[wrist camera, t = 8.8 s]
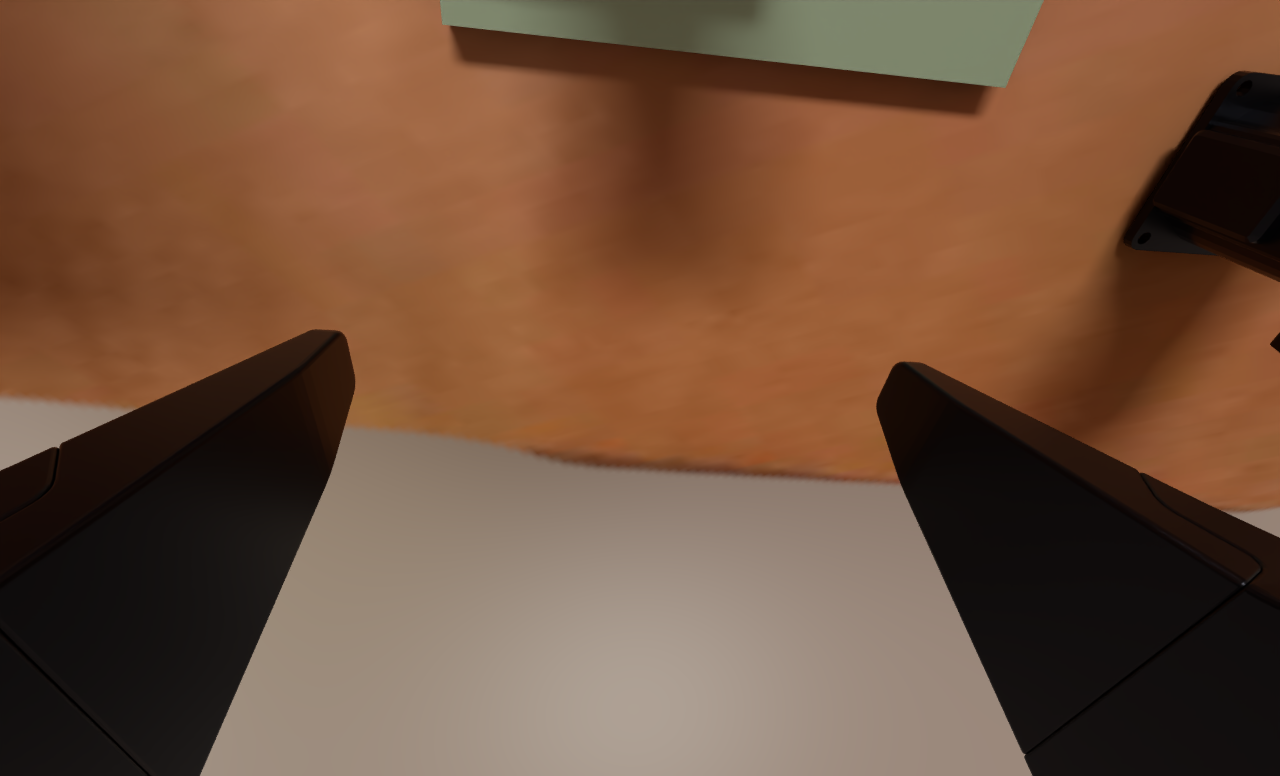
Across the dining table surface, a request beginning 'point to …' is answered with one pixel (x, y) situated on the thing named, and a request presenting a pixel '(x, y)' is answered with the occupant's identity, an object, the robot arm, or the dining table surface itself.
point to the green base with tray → (788, 30)
